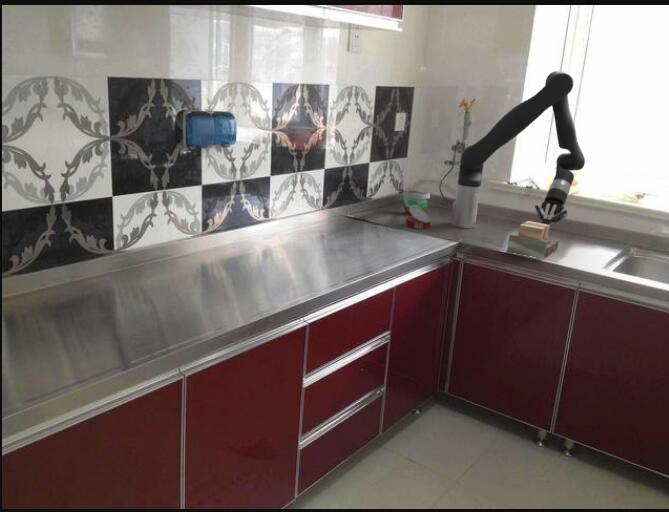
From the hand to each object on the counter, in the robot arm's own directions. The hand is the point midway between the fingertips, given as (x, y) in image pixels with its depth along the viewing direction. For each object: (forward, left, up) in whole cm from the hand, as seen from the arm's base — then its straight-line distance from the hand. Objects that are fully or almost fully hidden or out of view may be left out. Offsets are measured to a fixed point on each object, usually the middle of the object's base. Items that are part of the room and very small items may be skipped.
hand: (543, 228), depth 244 cm
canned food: (-47, -11, -7) cm, 49 cm away
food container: (-58, +8, -7) cm, 59 cm away
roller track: (0, -11, -6) cm, 13 cm away
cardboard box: (0, -14, -3) cm, 14 cm away
